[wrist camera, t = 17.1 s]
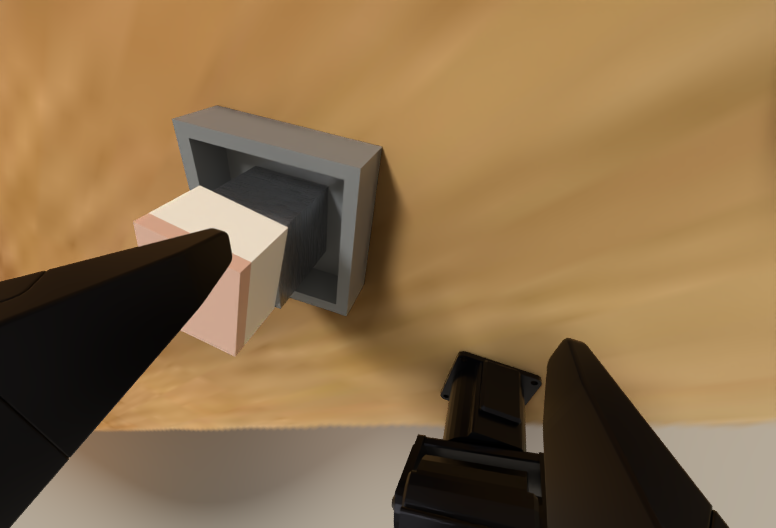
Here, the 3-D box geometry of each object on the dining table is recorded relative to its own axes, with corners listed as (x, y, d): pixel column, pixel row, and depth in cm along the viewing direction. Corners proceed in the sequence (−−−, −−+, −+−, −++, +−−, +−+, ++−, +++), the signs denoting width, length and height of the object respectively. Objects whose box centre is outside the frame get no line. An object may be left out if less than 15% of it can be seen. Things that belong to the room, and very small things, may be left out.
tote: (363, 284, 25) (346, 316, 23) (240, 245, 27) (210, 271, 24) (382, 146, 19) (360, 168, 16) (217, 105, 20) (171, 118, 18)
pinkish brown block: (274, 308, 19) (235, 356, 16) (203, 274, 19) (152, 316, 16) (288, 227, 15) (240, 273, 12) (199, 185, 15) (132, 221, 13)
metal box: (326, 251, 23) (280, 308, 19) (262, 231, 24) (203, 282, 20) (328, 186, 20) (274, 236, 16) (255, 165, 21) (183, 207, 16)
